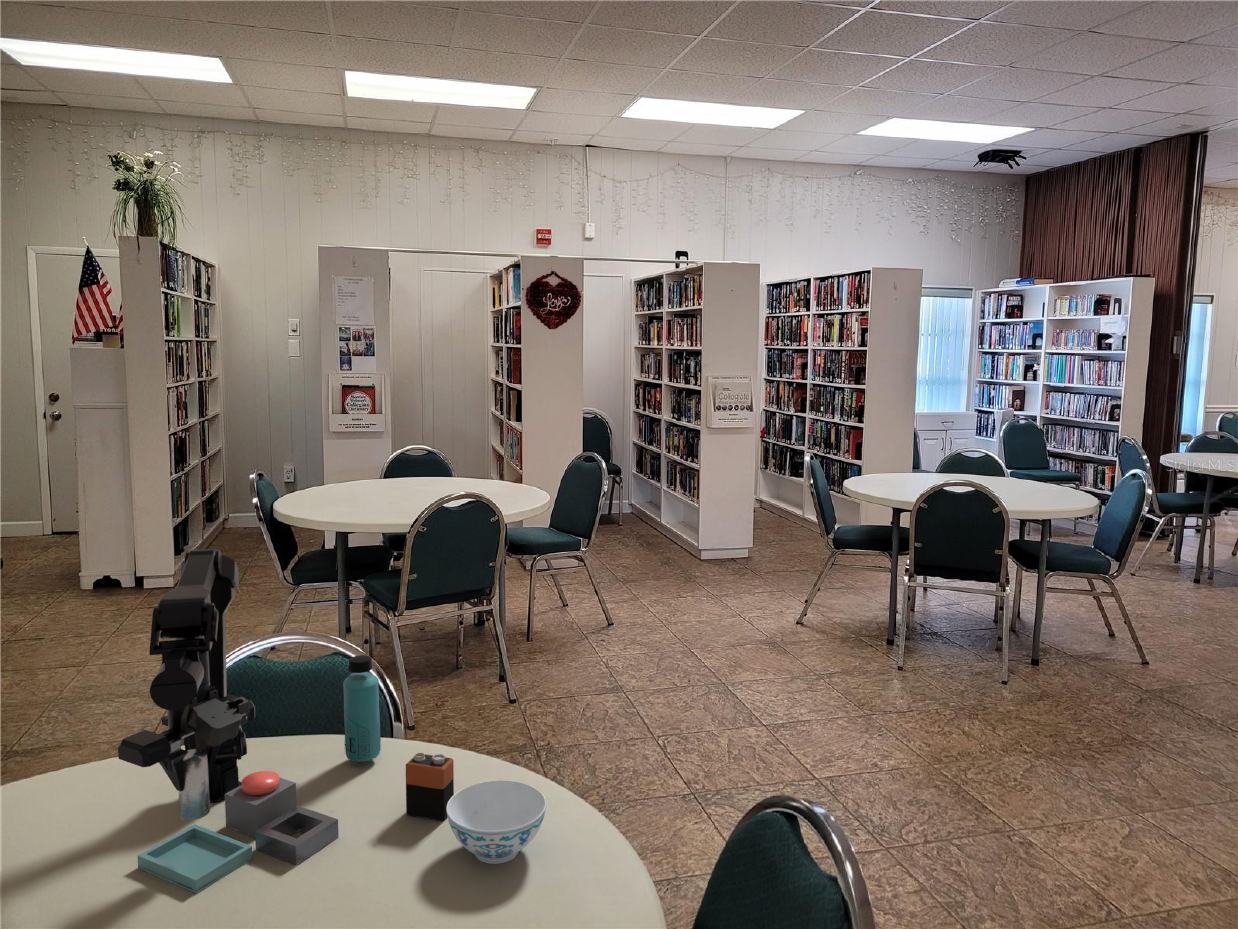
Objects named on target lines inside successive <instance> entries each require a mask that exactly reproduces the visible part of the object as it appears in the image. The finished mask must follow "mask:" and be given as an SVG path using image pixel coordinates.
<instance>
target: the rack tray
mask: <svg viewBox="0 0 1238 929" xmlns="http://www.w3.org/2000/svg"><path fill="white" fill-rule="evenodd" d="M136 857H137V868H138V869H139V870H142V871H144V872H146V873H148V874H150V875H154V877H155V876H156V877H157V878H160V879H162V880H165V881H167V882H169V883H171V884H174V885H176V886H179V887H181V888H183V889H185V890H188V891H190V892H191V893H194V894H199V893H200V892H201V891H203V890H204V889H206V888H207V887H210V886H211V885H213V884H215V883H216V882H218V881H219V880H220V879H222V878H224V877H226V876H227V875H229V874H230V873H232V872H233V871H235V870H237V869H238V868H240V867H242V866H243V865H245V864H246V863H248V862H249V861H251V860H252V859H253V846H252V845H250V844H247V843H244V842H242V841H239V840H236V839H233V838H232V837H229V836H226V835H223V834H222V833H219V832H215V831H214V830H210V829H208V828H206V827H203V826H200V825H199V824H193V825H190V826H188V827H187V828H185V829H183V830H181V831H179V832H177V833H176V834H174V835H172V836H170V837H169V838H167V839H165V840H163V841H161V842H159V843H158V844H155V845H154V846H152V847H150V848H149V849H148V848H147V849H146V850H144V851H142V852H141V853H139V854H137V855H136Z"/></svg>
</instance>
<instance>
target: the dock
mask: <svg viewBox="0 0 1238 929" xmlns="http://www.w3.org/2000/svg"><path fill="white" fill-rule="evenodd" d="M297 806H298V805H297V782H294V781H291V780H290V779H289V780H288V779H286V778H282V777H280V776H279V786H278V788H276V789H275V790H274V791H272V792H269V793H266V794H264V795H262V796H260V797H258V796H255V795H248V794H245V793H243V792H242V785H241V786H239V787H237V788H235V789H233V790H231V791H229V792H227V793H226V794H225V798H224V807H225V809H224V810H225V827H227V828H229V829H232V830H235V831H236V832H240V833H242V834H245V835H247V836H251V837H254V838H255V831H256V830H258V829H259V828H261V827H263V826H264V825H266V824H268V823H270V822H271V821H273V820H275V819H276V818H278V817H280V816H281V815H283V814H285V813H287V812H288V811H290V810H292V809H293V808H295V807H297Z"/></svg>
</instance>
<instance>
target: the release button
mask: <svg viewBox="0 0 1238 929" xmlns="http://www.w3.org/2000/svg"><path fill="white" fill-rule="evenodd" d="M279 777H280V775H279V774H278V773H277V772H275V771H271V770H270V771H269V770H261V771H257V772H252V773H250V774H248V775H246V776H244V777H243V778H242V780H241V781H240V782H241V783H242V792H243V793H245V794H248V795H255V796H258V797H260V796H262V795H264V794H266V793H269V792H272V791H274V790H275V789H276V788H278V786H279Z"/></svg>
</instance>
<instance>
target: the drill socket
mask: <svg viewBox="0 0 1238 929" xmlns="http://www.w3.org/2000/svg"><path fill="white" fill-rule="evenodd" d="M297 831H300V832H303V834H301V835H300V836H298V837H297V838H295V837H293V836H292V835H293V834H294V833H297ZM254 838H255V840H254V841H255V850H257V851H259V852H261V853H264V854H267V855H270V856H272V857H274V858H277V859H279V860H282V861H284V862H287V863H289V864H292V865H295V866H297V865H299V864H300V863H302V862H304V861H305V860H306V859H308V858H310V857H311V856H313V855H314V854H315V853H317V852H318V851H320V850H322V849H323V848H325V847H326V846H328V845H329V844H331V843H333V842H334V841H335V840H336V839H338V838H339V819H338V818H335V817H332V816H329V815H326V814H323V813H321V812H318V811H316V810H312V809H309V808H306V807H303V806H300V805H297V807H295V808H293V809H292V810H290V811H288V812H287V813H285V814H283V815H281V816H280V817H278V818H276V819H275V820H273V821H271V822H270V823H268V824H266V825H264V826H263V827H261V828H259V829H258V830H256V831H255V837H254Z"/></svg>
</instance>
